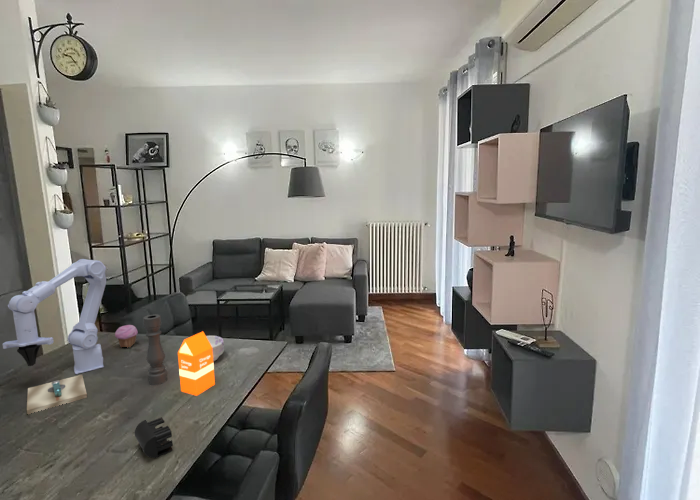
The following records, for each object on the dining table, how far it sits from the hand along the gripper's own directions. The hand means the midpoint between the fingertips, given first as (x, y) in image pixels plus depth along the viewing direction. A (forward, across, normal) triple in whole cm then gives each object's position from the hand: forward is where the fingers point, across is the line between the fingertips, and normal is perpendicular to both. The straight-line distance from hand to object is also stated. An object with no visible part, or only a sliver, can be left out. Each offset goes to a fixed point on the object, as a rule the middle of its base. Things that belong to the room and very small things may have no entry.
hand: (31, 364), depth 138 cm
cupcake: (+10, +21, +34) cm, 41 cm away
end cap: (+10, +50, -46) cm, 69 cm away
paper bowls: (+10, +57, +10) cm, 59 cm away
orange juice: (+10, +57, -14) cm, 60 cm away
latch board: (+9, +10, -6) cm, 15 cm away
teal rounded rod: (+7, +10, -8) cm, 15 cm away
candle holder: (+10, +42, -5) cm, 43 cm away
